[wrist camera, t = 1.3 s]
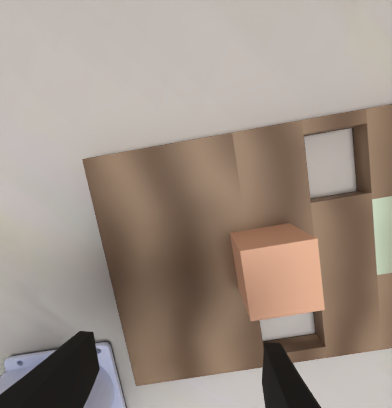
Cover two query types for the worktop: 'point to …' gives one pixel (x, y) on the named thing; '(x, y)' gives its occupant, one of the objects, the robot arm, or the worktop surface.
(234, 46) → the worktop surface
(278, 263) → the block
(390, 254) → the trap deck
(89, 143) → the worktop surface
